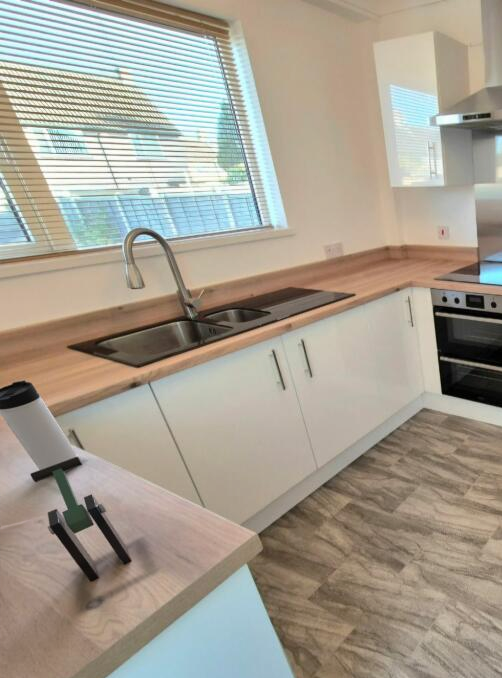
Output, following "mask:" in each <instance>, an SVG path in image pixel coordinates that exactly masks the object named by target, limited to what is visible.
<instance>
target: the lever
mask: <svg viewBox="0 0 502 678" xmlns="http://www.w3.org/2000/svg"><path fill="white" fill-rule="evenodd" d="M79 458H80V457H79V455H78V456H77V457H74V458H72V459H69V460H66V461H63V462H61V463H58V464H55V465H52V466H50V467H47V468H44V469H41V470H39V469H38V470H36V471H34V472H30V477H31V479H32V481H33V482H34V483H38V482H41V481H44V480H46V479H49V478H52V477H53V478H54V480H55V483H56V484H57V487H58V489H59V493H60V494H61V496H62V499H63V501H64V504H65V506H66V508H67V509H66V510H63V511H62V512H61V514H62V517H63V518H64V520H65V521H66V523H67V526H68V527H69V528H70V529H71V530H72V531H73V532H74V534H78V533H80V532H82V531H84V530H86V529H88V528H91V527H93V526H94V522H93V518H92V517H91V515H90V514H89V512H88V511H87V508H86V506H84V504H82V503H80V504H79V502H78V500H77V498H76V495H75V493H74V491H73V489H72V485H71V484H70V480H69V479H68V477H67V474H66V472H65V471H67V472H68V470H69V471H70V469H71V470H74V469H76V468H78V467H81V466H83V462H82V460H81V458H80V459H79Z"/></svg>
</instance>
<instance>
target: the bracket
mask: <svg viewBox="0 0 502 678" xmlns="http://www.w3.org/2000/svg"><path fill="white" fill-rule="evenodd" d="M83 500H84V504H85V508H86V510H87V511H88V512H89V515H90V517H91V519H92V521H94V523H95V524H96V526H97V527H98V529H99V530H100V531H101V533H102V535H103V536H104V538H105V539H106V541H107V543H108V544H109V545H110V547H111V548H112V550H113V551H114V553H115V554H116V556H117V557H118V558H119V560H120V562H121V563H122V565H123V566H125V565H127V564H129V563H131V562H132V558H131V555H130V552H129V549H128V547H127V545H126V544H125V542H124V541H123V539H122V538H121V536H120V534H119V533H118V531H117V530H116V528H115V527H114V525H113V523H112V522H111V520H110V519H109V518H108V516H107V514H106V512H107V509H106V507H105V505H104V504H103V503H99V502H98V500H97V499H96V497H95V496H94V494H93V493H91V494H89V495H87V496H83ZM47 519H48V524H49V525H47V529H48V531H49V532H50V534H51V535H52V536H54V535H55V536H56V538H57V539H58V540H59V542H60V544H62V546H63V547H64V548H65V549H66V551H67V553H68V554H69V555H70V557H71V558H72V559H73V561H74V562H75V564H77V566H78V567H79V569H80V570H81V571H82V572H83V574H84V575H85V577H86V579H88V581H89V582H90V583H93V582H95V581H97V580H98V579H100V576H99V572H98V569H97V564H96V562H95V560H94V558H92V556H91V555H90V553H89V552H88V551H87V549H86V548H85V546H84V545H83V543H82V542H81V541H80V539H79V538H78V537H77V535H76V533H74V532H73V531H72V530H71V529H70V528H69V527H68V526H67V523H66V521H65V518H64V516H63V514H62V513H61V512H60V511H59V510H58V508H55V509H53V510H50V511H48V512H47Z"/></svg>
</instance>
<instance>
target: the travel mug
mask: <svg viewBox="0 0 502 678" xmlns="http://www.w3.org/2000/svg"><path fill="white" fill-rule="evenodd" d="M0 415H1V417H2V418H3V420H4V421H5V422H6V424H7V426H8V427H9V428H10V430H11V431H12V433H13V434H14V436H15V437H16V439H17V440H18V442H19V443H20V444H21V446H22V447H23V448H24V450H25V452H26V453H27V454H28V456H29V457H30V458H31V460H32V462H33V463H34V464H35V466H36V467H37V469H38V471H39V470H41V469H44V468H47V467H50V466H52V465H55V464H58V463H61V462H63V461H66V460H69V459H72V458H74V457H77V456H78V457H79V454H77V452H76V450H75V449H74V447H73V445H72V444H71V442H70V441H69V439H68V437H67V436H66V434H65V433H64V431H63V430H62V428H61V427H60V425H59V423H58V422H57V419H56V418H55V417H54V415H53V414H52V412H51V411H50V409H49V408H48V406H47V405H46V403H45V401H44V400H43V398H42V396H41V395H40V393H38V391H37V389H36V388H35V386H34V385H33V383H32V382H29V381H26V380H19V381H13V382H12V383H11V384H8V385H5V386H2V387H0ZM79 459H80V460H81V458H80V457H79ZM70 470H71V471H72V469H70ZM70 470H68V471H70ZM68 471H65V473H66V472H68Z"/></svg>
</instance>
